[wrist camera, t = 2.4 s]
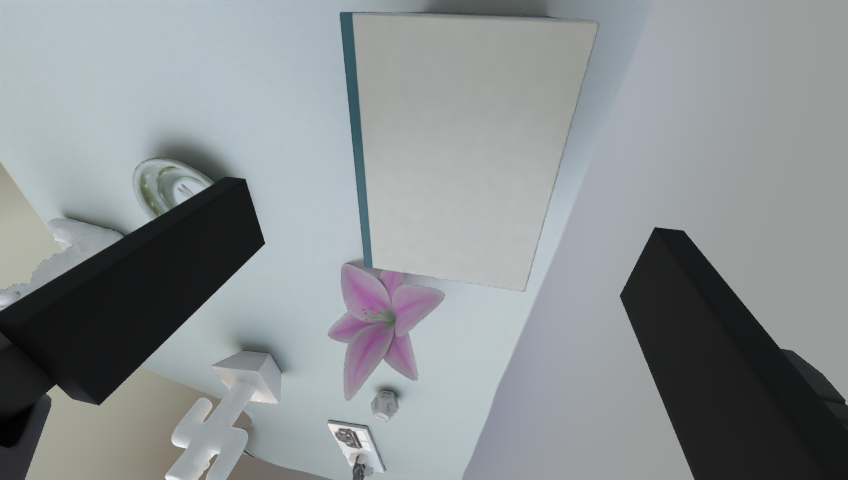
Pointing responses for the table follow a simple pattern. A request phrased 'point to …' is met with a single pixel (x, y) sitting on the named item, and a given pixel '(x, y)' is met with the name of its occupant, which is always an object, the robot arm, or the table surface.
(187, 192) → the saucer
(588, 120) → the table surface
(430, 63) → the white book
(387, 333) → the lily
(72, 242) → the sitting furry creature
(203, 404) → the figurine
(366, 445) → the car cutout
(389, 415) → the game die
